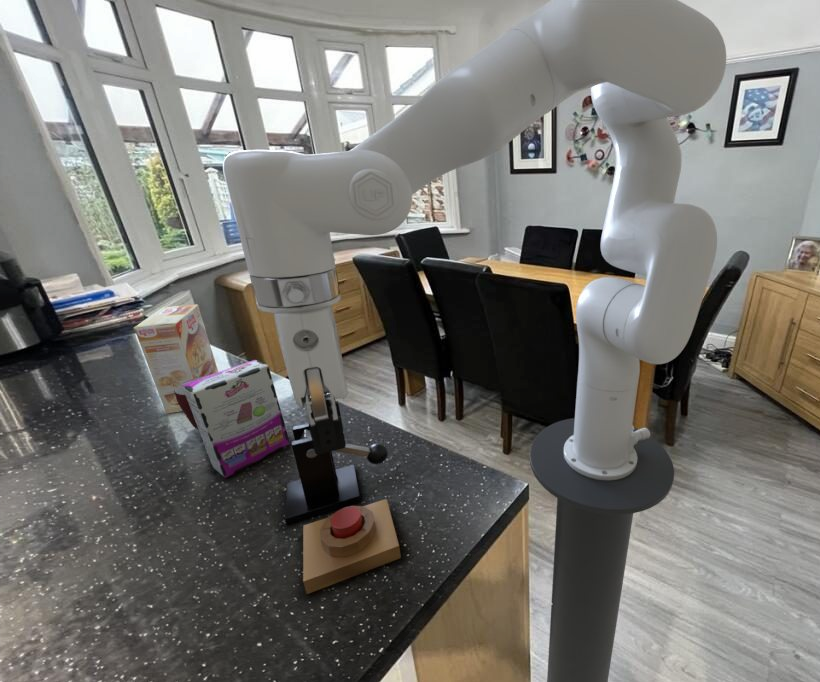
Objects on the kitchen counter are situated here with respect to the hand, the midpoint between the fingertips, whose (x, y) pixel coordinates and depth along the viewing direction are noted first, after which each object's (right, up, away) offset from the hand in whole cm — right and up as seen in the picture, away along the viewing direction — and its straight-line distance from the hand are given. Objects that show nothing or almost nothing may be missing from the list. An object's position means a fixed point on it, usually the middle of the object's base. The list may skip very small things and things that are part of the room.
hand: (329, 440), depth 46 cm
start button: (0, -13, +5) cm, 14 cm away
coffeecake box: (-51, -1, +44) cm, 68 cm away
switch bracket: (-8, -12, +15) cm, 21 cm away
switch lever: (-5, -6, +14) cm, 16 cm away
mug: (-37, -5, +33) cm, 50 cm away
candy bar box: (-25, -9, +24) cm, 36 cm away
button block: (0, -16, +6) cm, 17 cm away
